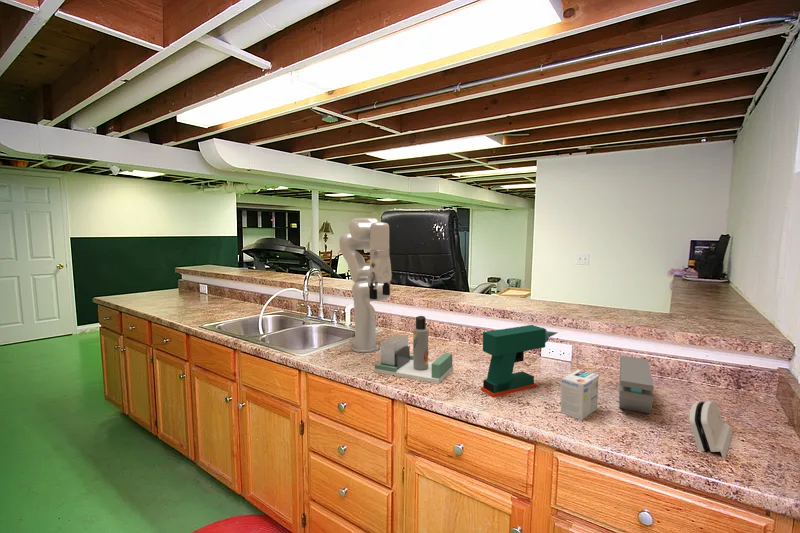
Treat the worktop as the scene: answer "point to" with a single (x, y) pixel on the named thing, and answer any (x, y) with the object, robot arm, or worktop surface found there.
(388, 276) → the robot arm
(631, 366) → the gray lidded box
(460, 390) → the worktop surface
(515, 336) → the power tool
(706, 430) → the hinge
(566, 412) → the light bulb box
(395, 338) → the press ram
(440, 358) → the frame
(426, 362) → the lotion bottle
